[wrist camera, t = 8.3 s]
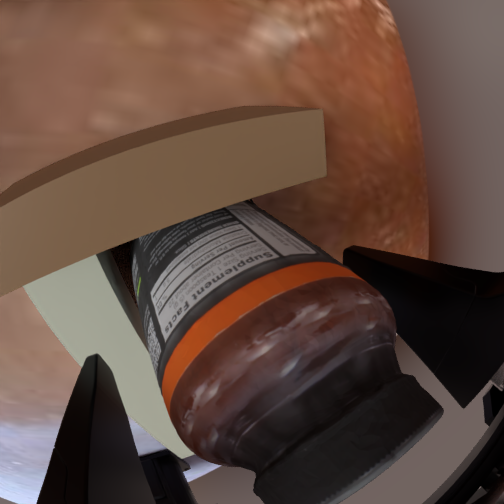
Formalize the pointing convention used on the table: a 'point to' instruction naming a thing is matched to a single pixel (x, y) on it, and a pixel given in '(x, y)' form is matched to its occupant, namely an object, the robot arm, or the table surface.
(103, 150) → the wall board
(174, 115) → the table surface
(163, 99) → the table surface
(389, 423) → the supplement bottle
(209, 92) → the table surface
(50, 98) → the table surface
